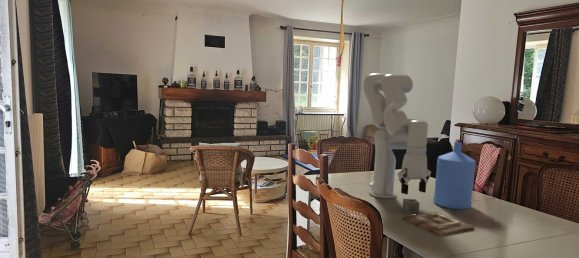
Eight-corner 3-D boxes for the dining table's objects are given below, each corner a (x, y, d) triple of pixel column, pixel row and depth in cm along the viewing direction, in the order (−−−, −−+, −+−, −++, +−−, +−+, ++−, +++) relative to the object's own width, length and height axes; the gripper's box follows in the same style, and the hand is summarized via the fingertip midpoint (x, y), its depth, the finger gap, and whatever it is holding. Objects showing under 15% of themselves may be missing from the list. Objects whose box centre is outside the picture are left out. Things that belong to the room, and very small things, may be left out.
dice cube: (414, 210, 160) (415, 199, 160) (418, 214, 155) (419, 202, 155) (402, 210, 160) (403, 198, 159) (406, 214, 155) (407, 202, 155)
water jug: (475, 212, 163) (482, 146, 159) (436, 207, 166) (442, 143, 162) (466, 201, 178) (472, 141, 175) (430, 197, 181) (436, 139, 178)
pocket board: (402, 218, 149) (402, 213, 149) (435, 213, 157) (435, 209, 157) (439, 236, 133) (440, 230, 133) (474, 229, 142) (474, 224, 141)
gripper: (424, 149, 162) (421, 189, 163) (393, 150, 154) (390, 192, 155) (438, 151, 155) (435, 193, 156) (406, 152, 147) (404, 196, 148)
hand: (413, 192), depth 156 cm, fingers open, 9 cm apart
